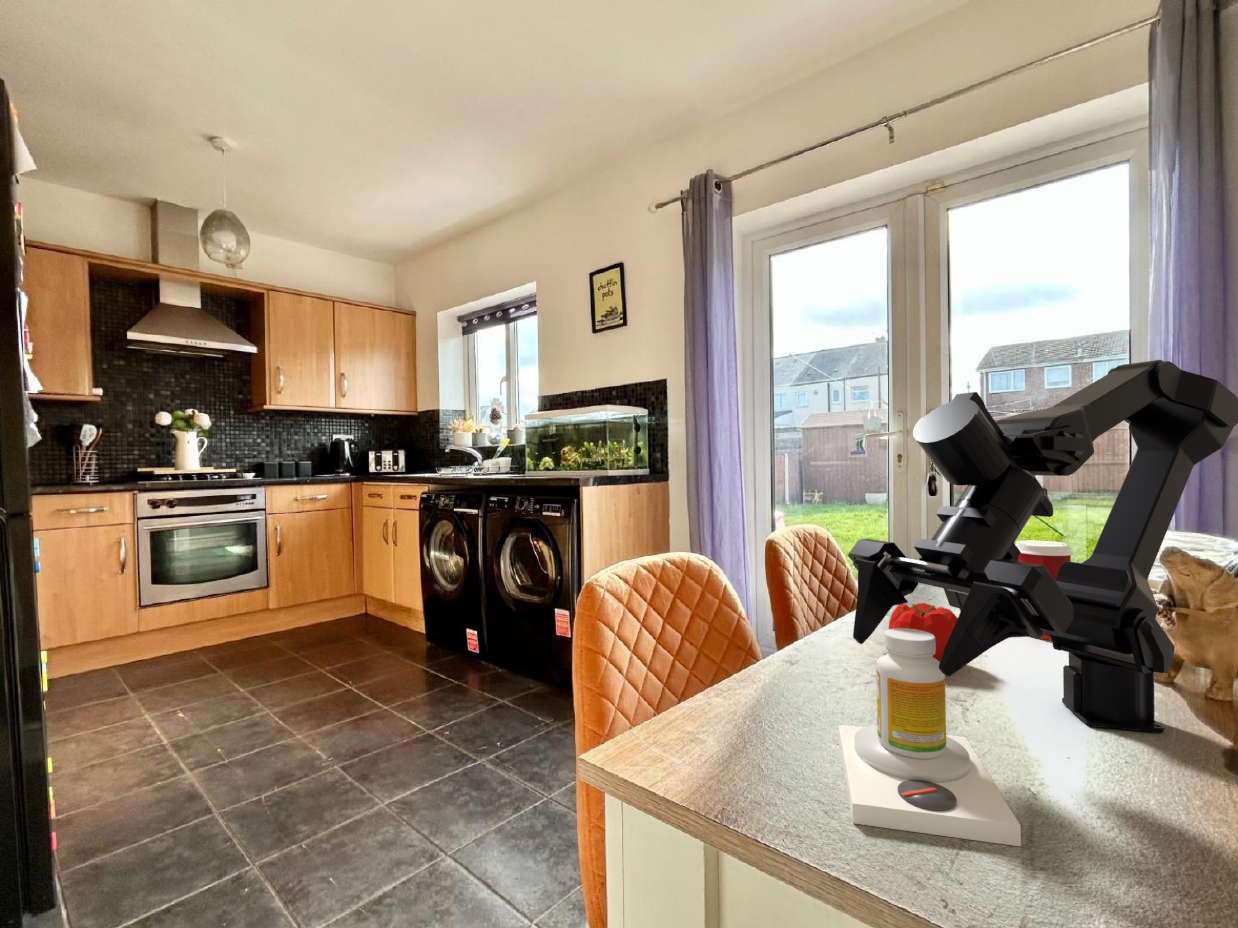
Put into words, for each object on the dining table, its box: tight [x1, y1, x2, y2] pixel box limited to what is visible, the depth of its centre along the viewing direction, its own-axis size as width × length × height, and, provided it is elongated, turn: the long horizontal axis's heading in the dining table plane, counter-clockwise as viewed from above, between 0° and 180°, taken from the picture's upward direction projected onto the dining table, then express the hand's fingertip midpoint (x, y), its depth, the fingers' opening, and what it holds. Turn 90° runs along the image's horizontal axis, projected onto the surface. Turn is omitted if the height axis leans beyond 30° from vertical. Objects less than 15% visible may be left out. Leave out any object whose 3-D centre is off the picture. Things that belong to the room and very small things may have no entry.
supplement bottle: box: [875, 628, 947, 759], centre depth 53 cm, size 5×5×10 cm
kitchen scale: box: [837, 723, 1022, 847], centre depth 51 cm, size 11×14×2 cm
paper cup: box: [1014, 539, 1074, 641], centre depth 93 cm, size 8×8×14 cm
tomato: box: [888, 602, 958, 662], centre depth 81 cm, size 9×9×8 cm
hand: (896, 655), depth 52 cm, fingers open, 9 cm apart
